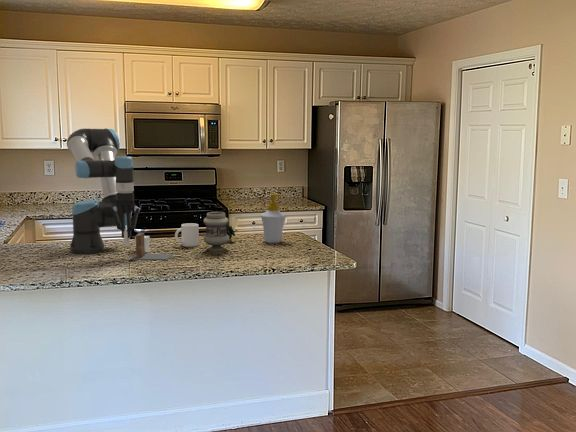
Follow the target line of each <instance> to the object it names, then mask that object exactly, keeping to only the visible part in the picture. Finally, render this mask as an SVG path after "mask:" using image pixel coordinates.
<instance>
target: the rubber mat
mask: <svg viewBox="0 0 576 432" xmlns="http://www.w3.org/2000/svg"><path fill="white" fill-rule="evenodd" d="M172 256H173V254H172V253H145V255H144V256H143V257H142V258H136V254H135V255H133V256H132V257H131V258H130V260H131V261H133V260H134V261H154V260H155V261H169V260H170V258H171V257H172Z"/></svg>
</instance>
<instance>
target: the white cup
mask: <svg viewBox="0 0 576 432" xmlns="http://www.w3.org/2000/svg"><path fill="white" fill-rule="evenodd" d="M150 239H151V237H150V235H144V245H145V252H146V253H149V252H150V241H151V240H150ZM134 242H135V244H136V236H134Z"/></svg>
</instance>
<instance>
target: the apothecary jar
mask: <svg viewBox="0 0 576 432" xmlns="http://www.w3.org/2000/svg"><path fill="white" fill-rule="evenodd" d="M229 222H230V221H229V218H228V217H226V212H224V211H211V212H207V213H206V217H204V218H203V224H204V225H205V235H204V236H203V241H204V243H205V244H207V245H209V246H210V247H209V248H207V249H206V250H205V251H206V252H208V253H212V254H218V253H219V254H221V253H225V252H228V249H227V248H226V247H224V245H226V244H227V243H229V241H230V240H229V239H230V238H229V236H228V235H227V231H226V226H227V224H228V225H229Z"/></svg>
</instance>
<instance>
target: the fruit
mask: <svg viewBox="0 0 576 432" xmlns="http://www.w3.org/2000/svg"><path fill="white" fill-rule="evenodd" d="M226 231H227V235H228V236H229V238H230V239H229V241H231V240H232V237H233V238H234V237H236V234H235V233H237V232H238V229H236V230H234V228H233V227H232V225H229V223H228V224H227V225H226Z"/></svg>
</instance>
